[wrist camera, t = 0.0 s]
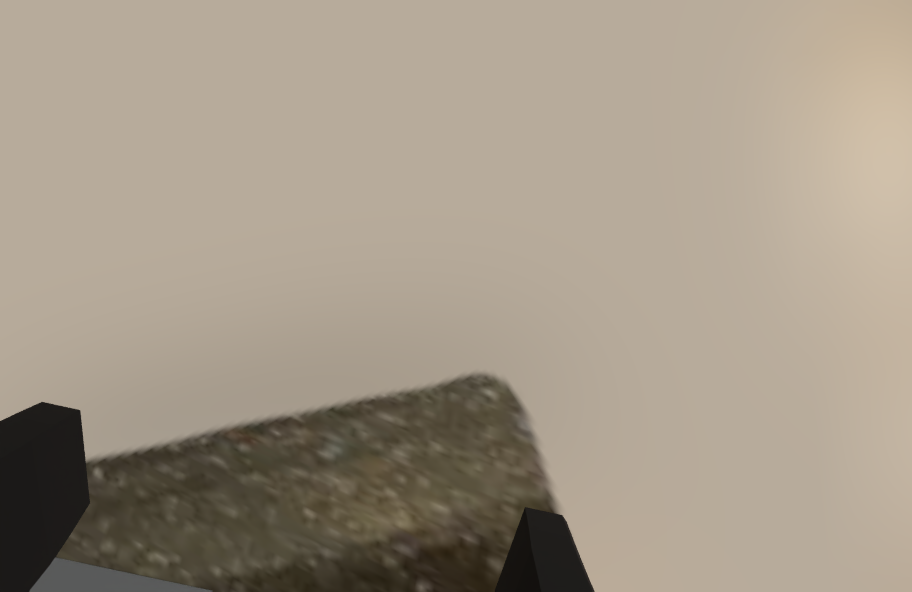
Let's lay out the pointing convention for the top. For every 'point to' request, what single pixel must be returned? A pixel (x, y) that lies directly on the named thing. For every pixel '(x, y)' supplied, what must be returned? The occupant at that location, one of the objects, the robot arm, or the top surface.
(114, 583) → the felt mat
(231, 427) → the top surface
